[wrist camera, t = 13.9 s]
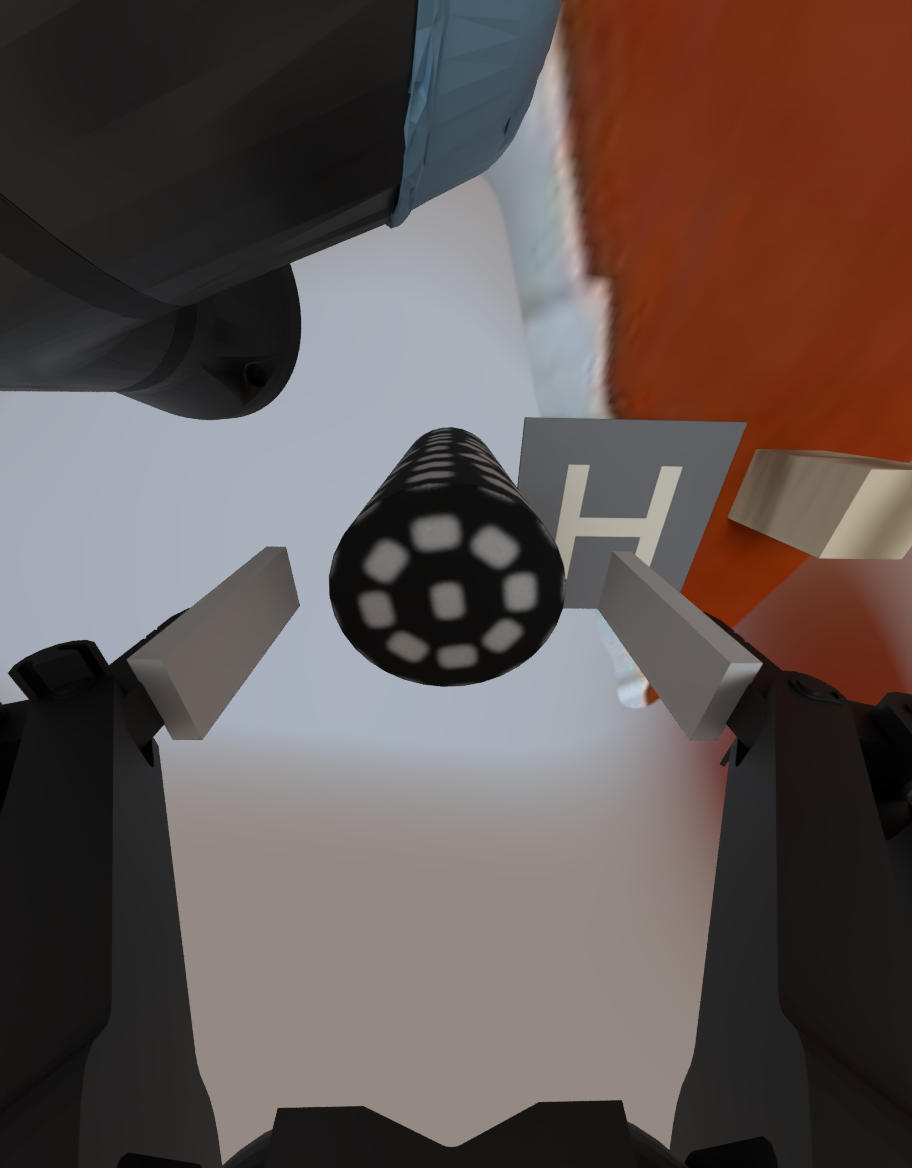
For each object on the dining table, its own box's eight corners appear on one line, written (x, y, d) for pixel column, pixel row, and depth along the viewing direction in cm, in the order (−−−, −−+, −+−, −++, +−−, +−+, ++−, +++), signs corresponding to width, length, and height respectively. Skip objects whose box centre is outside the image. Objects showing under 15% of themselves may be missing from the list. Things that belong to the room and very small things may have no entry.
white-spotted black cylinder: (500, 519, 31) (563, 674, 14) (411, 531, 32) (364, 696, 14) (493, 420, 27) (569, 463, 10) (391, 435, 28) (292, 502, 10)
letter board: (504, 606, 36) (505, 608, 36) (524, 417, 27) (525, 417, 27) (671, 607, 36) (673, 609, 36) (744, 422, 28) (747, 422, 27)
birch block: (727, 517, 32) (818, 558, 24) (756, 449, 29) (871, 469, 21) (790, 518, 32) (901, 559, 24) (824, 450, 29) (965, 471, 21)
